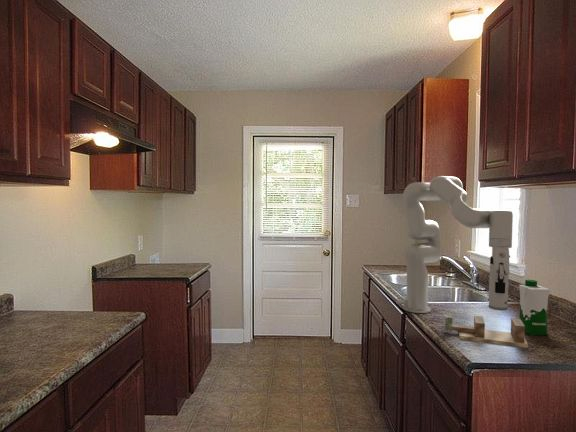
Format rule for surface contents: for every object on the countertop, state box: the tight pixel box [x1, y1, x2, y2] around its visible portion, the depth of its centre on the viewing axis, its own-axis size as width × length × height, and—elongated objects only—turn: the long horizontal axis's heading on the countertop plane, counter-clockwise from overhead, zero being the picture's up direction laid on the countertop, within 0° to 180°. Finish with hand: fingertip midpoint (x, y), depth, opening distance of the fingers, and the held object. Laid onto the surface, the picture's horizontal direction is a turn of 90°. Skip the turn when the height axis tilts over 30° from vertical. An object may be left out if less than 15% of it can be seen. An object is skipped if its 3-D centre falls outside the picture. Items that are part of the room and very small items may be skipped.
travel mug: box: [488, 255, 511, 311], centre depth 146 cm, size 6×7×20 cm
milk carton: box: [518, 279, 551, 336], centre depth 155 cm, size 9×9×20 cm
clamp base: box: [458, 317, 529, 349], centre depth 147 cm, size 22×12×7 cm, turn 67°
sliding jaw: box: [444, 313, 486, 337], centre depth 151 cm, size 13×10×5 cm
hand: (498, 290), depth 146 cm, fingers closed on travel mug, 6 cm apart
